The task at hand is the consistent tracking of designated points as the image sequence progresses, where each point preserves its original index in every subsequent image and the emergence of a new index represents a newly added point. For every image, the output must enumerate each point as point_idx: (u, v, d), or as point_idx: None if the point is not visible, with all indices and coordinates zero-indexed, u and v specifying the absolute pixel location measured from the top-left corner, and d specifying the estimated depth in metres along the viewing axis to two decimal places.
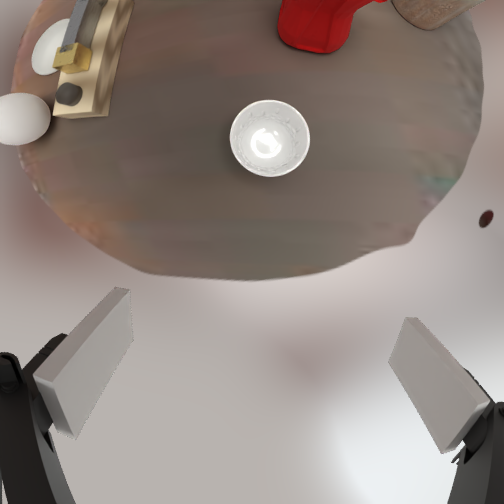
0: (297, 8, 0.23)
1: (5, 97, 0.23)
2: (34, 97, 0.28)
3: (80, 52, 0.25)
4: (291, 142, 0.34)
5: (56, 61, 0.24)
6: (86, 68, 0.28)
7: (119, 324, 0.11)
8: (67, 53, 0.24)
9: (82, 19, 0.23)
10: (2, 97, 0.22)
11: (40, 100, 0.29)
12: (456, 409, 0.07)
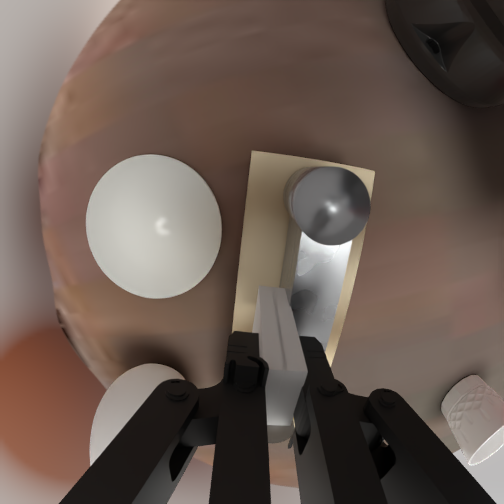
0: None
1: None
2: None
3: None
4: None
5: None
6: None
7: None
8: None
9: (332, 318, 0.13)
10: None
11: None
12: None
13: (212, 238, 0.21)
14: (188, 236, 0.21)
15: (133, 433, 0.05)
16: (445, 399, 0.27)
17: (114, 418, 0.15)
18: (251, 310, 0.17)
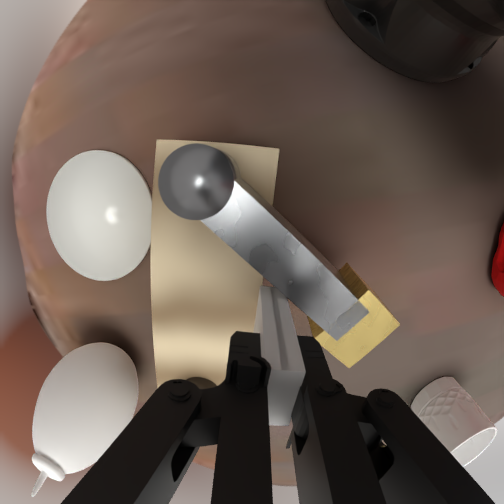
0: None
1: (72, 427, 0.14)
2: (111, 381, 0.19)
3: (374, 294, 0.14)
4: None
5: (349, 354, 0.14)
6: None
7: None
8: (364, 325, 0.14)
9: (302, 243, 0.13)
10: (63, 425, 0.14)
11: (120, 373, 0.20)
12: None
13: (145, 224, 0.21)
14: (125, 222, 0.21)
15: (135, 433, 0.05)
16: (414, 401, 0.26)
17: (54, 384, 0.16)
18: (165, 290, 0.18)
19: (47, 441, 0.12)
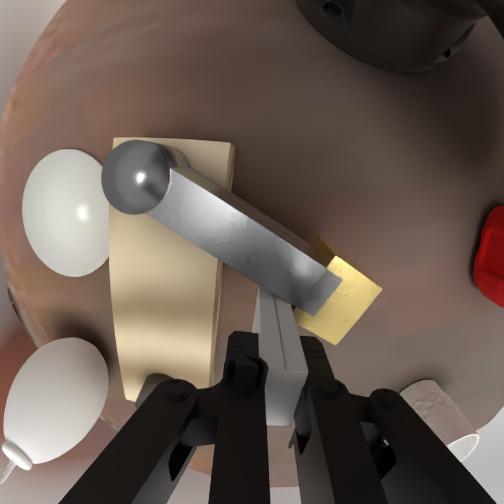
0: None
1: (38, 418, 0.13)
2: (78, 374, 0.18)
3: (348, 260, 0.14)
4: None
5: (331, 330, 0.13)
6: None
7: None
8: (340, 295, 0.13)
9: (250, 218, 0.12)
10: (30, 415, 0.13)
11: (88, 368, 0.20)
12: None
13: None
14: (92, 219, 0.21)
15: (132, 433, 0.05)
16: None
17: (24, 376, 0.15)
18: (123, 285, 0.18)
19: (15, 430, 0.12)
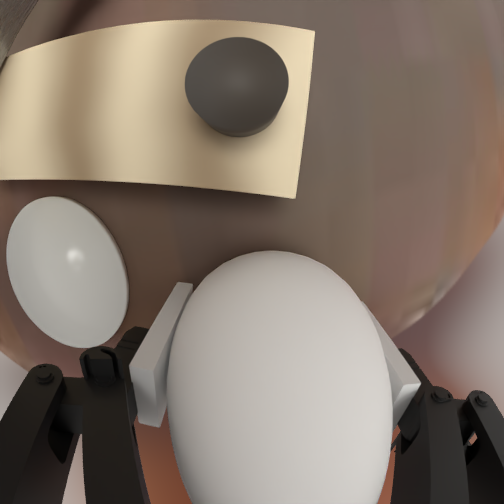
0: None
1: (191, 428, 0.05)
2: (202, 287, 0.10)
3: None
4: None
5: None
6: None
7: None
8: None
9: None
10: (182, 449, 0.05)
11: (216, 270, 0.11)
12: None
13: (53, 206, 0.15)
14: (55, 233, 0.16)
15: (13, 416, 0.04)
16: None
17: None
18: (48, 157, 0.10)
19: None
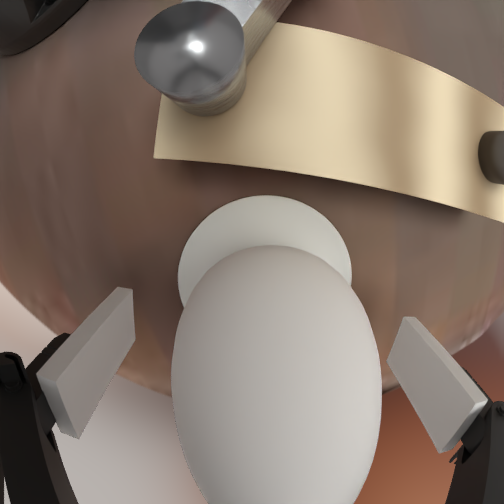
0: None
1: (193, 399, 0.06)
2: (206, 277, 0.11)
3: None
4: None
5: None
6: None
7: (122, 324, 0.11)
8: None
9: None
10: (184, 420, 0.06)
11: (218, 262, 0.12)
12: (454, 408, 0.07)
13: (280, 207, 0.17)
14: (276, 236, 0.17)
15: None
16: None
17: None
18: (366, 162, 0.12)
19: (203, 490, 0.05)
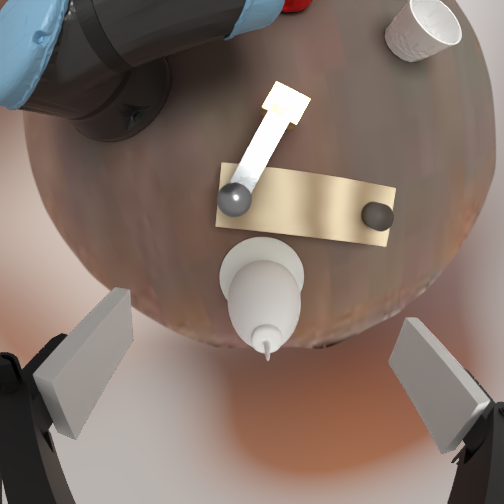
0: None
1: (240, 303, 0.26)
2: (239, 273, 0.31)
3: None
4: None
5: (301, 102, 0.25)
6: None
7: (119, 324, 0.11)
8: (281, 101, 0.25)
9: (249, 145, 0.26)
10: (238, 310, 0.26)
11: (242, 267, 0.32)
12: (456, 409, 0.07)
13: (267, 242, 0.37)
14: (266, 255, 0.37)
15: None
16: (405, 60, 0.30)
17: None
18: (300, 226, 0.32)
19: (244, 328, 0.25)
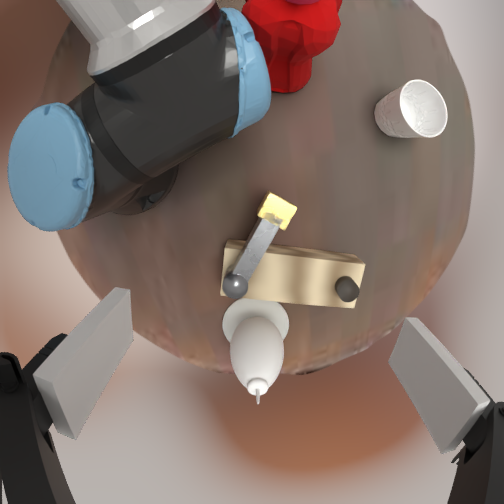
0: (304, 66, 0.29)
1: (240, 360, 0.36)
2: (238, 331, 0.41)
3: (261, 205, 0.35)
4: None
5: (289, 211, 0.34)
6: (267, 191, 0.36)
7: (119, 324, 0.11)
8: (273, 210, 0.34)
9: (246, 246, 0.35)
10: (238, 364, 0.36)
11: (241, 325, 0.42)
12: (456, 409, 0.07)
13: (260, 300, 0.46)
14: (259, 309, 0.47)
15: None
16: None
17: None
18: (285, 296, 0.41)
19: (242, 377, 0.35)
